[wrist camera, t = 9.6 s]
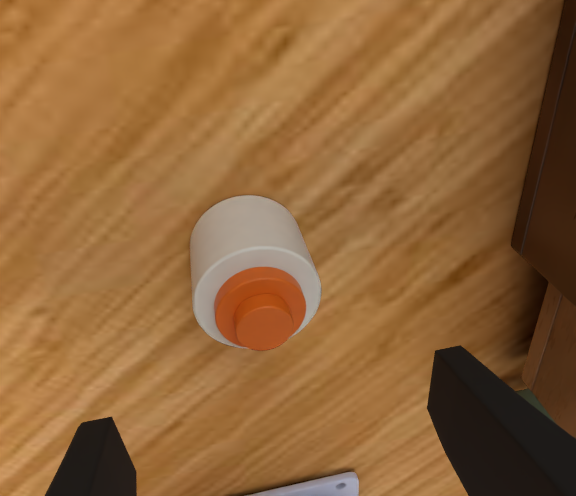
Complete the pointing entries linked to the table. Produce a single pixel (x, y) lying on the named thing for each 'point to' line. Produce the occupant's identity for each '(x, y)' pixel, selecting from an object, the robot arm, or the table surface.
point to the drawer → (553, 362)
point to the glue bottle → (251, 274)
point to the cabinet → (553, 172)
